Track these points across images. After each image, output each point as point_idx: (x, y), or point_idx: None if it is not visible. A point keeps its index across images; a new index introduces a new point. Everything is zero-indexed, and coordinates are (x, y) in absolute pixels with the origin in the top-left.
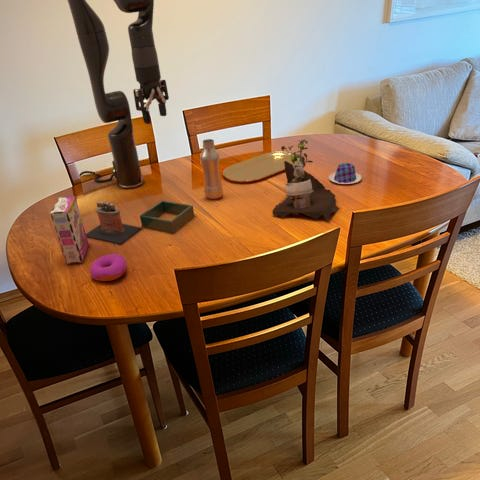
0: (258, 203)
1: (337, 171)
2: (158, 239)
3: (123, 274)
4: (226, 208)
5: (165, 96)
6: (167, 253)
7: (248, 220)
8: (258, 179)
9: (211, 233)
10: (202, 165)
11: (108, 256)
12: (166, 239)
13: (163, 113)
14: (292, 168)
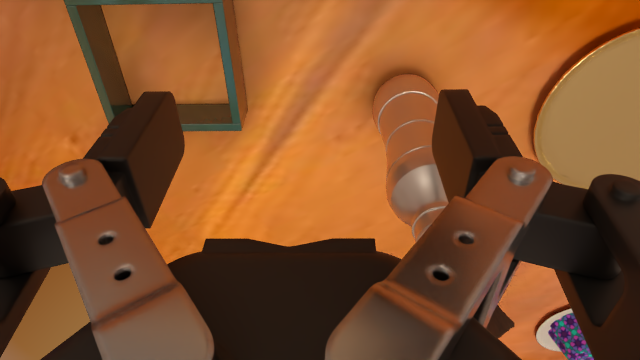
0: (395, 223)
1: (575, 337)
2: (70, 91)
3: None
4: (337, 167)
5: (567, 282)
6: (41, 154)
7: (294, 238)
8: (555, 176)
9: (190, 196)
10: (397, 150)
11: None
12: (87, 112)
13: (439, 143)
14: (500, 322)
